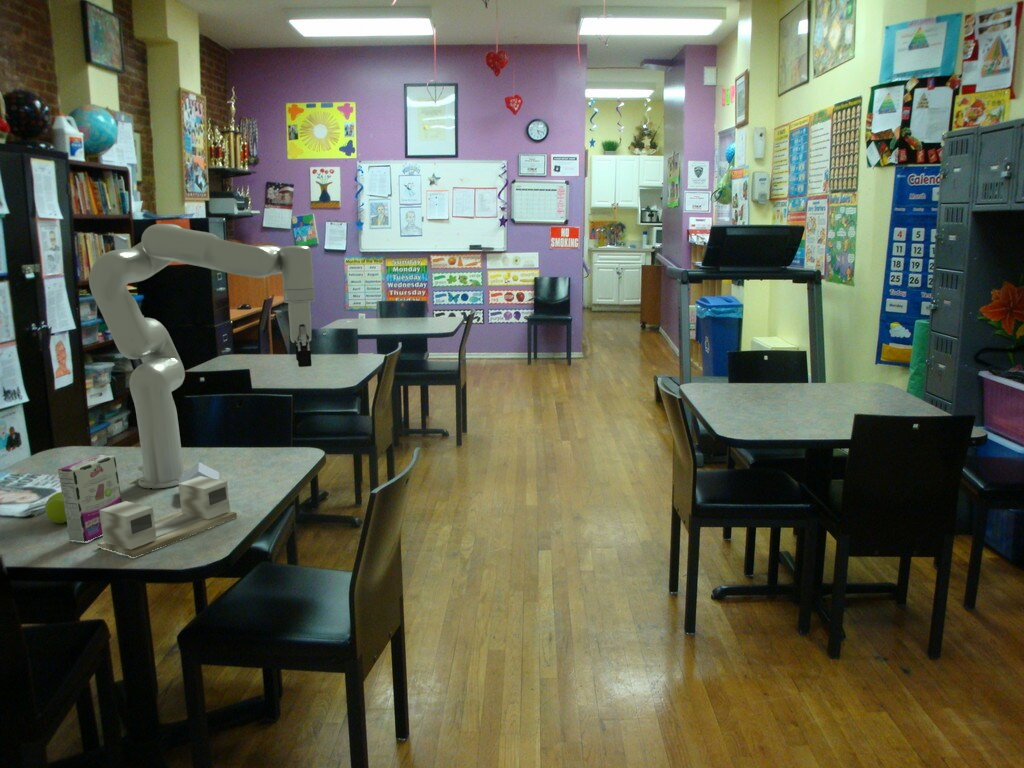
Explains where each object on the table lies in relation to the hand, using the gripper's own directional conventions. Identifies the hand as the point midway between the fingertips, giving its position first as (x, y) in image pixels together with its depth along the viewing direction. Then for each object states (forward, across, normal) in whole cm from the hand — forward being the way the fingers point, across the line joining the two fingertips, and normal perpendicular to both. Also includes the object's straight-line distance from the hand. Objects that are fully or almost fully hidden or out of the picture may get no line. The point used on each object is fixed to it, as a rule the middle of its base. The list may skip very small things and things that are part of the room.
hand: (303, 363), depth 213 cm
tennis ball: (+31, +14, -56) cm, 65 cm away
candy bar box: (+31, +25, -47) cm, 61 cm away
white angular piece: (+30, +5, -27) cm, 41 cm away
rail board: (+30, +30, -32) cm, 53 cm away
